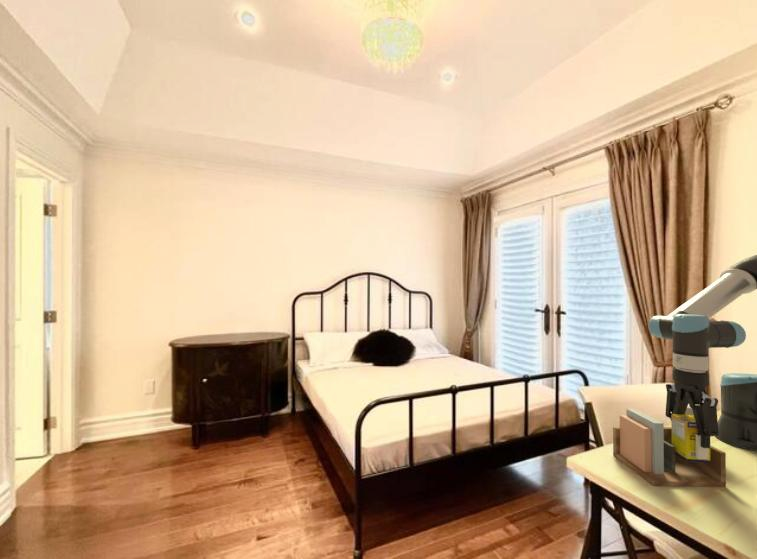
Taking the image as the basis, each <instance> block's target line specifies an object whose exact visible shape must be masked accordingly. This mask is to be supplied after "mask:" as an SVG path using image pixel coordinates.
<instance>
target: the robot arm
mask: <svg viewBox="0 0 757 559" xmlns="http://www.w3.org/2000/svg"><path fill="white" fill-rule="evenodd" d="M756 290H757V254H755V255H752V256H750V257H747V258H744V259H743V260H740V261H739V262H736V263H734V264H733V265H731V266H730V267H728V268H727V269H725V270H724V271H722V272H721V274H720V275H719V278H717V280H715V281H714V282H712V283H711V284H710V285H708V286H707V287H706V288H704V289H703V290H701V291H700V292H698V293H697V294H696V295H694V296H692V297H691V298H690V299H689V300H687V301H685V302H684V303H683V304H681V305H680V306H678V307H677V308H676V309H674V310H673V311H672V312H670V313H669V314H667V315H664V314H663V315H654V316H652V317H651V318H650V320H649V321H648V324H647V325H648V326H647V327H648V331H649V333H650V334H651V335H652V336H653V337H655V338H659V339H664V340H666V341H667V340H669V341H672V367H673V368H672V371H671V372H672V374H671V375H672V380H673V382H675V383H672V384H671V383H667V384H666V385H665V388H666V389H665V390H666V403H665V417H666V418H669V419H670V420H671V414H682V415H685V412H686V409H687V406H688V404H689V406H690V408H692V410H693V414H694V417H695V421H696V425H697V428H698V432H699V433H696V458H697V459H708V448H710V445H711V437H715V438H717V440H720V441H721V442H724V443H726V444H729V445H732V446H734V447H738V448H741V449H746V450H749V451H754V452H757V374H754V373H739V372H738V373H736V372H735V373H734V372H731V373H725V374H724V373H723V375H722V376H721V378H720V379H721V380H720V385H719V386H720V416H719V418H718V412H717V411H718V410H717V407H718V403H719V399H718V398H717V397H711V396H709V395H708V392H707V390H706V388H707V387H708V386H709V384H710V382H709V380H710V377H709V376H710V375H709V374H710V373H709V372H708V371H709V370H710V359H709V352H710V351H709V349H711V348H712V349H715V348H722V349H723V348H726V349H729V348H735V347H739V346H740V345H742V344H744V342H745V341H746V338H747V335H746V334H747V332H746V330H745V328H744V327H743V326H741V324H739V323H737V322H735V321H731V320H730V321H729V320H723V319H722V320H710V319H711V318H712V317H713V316H715V315H716V314H718V313H719V312H720V311H722V310H723V309H725V307H727V306H728V305H729V304H731V303H733V302H734V301H735V300H737V299H738V298H739V297H741V296H742V295H744V294H745V295H747V294H750V293H752V292H754V291H756ZM695 404H696V405H695ZM704 430H705V431H704Z"/></svg>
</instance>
